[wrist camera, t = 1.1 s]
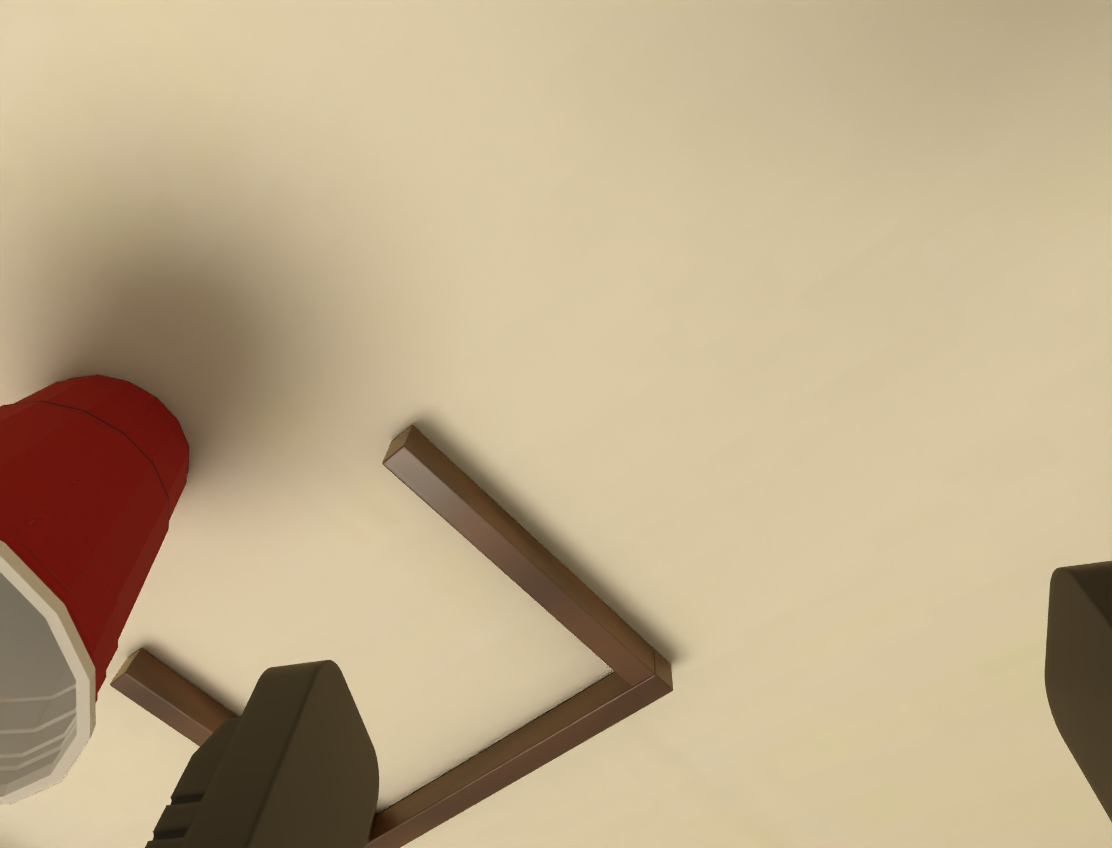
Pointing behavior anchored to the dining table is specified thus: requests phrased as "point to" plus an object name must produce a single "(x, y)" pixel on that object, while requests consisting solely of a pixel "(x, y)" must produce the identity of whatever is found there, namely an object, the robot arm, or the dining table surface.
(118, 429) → the plastic cup
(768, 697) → the dining table surface
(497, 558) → the frame
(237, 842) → the robot arm
